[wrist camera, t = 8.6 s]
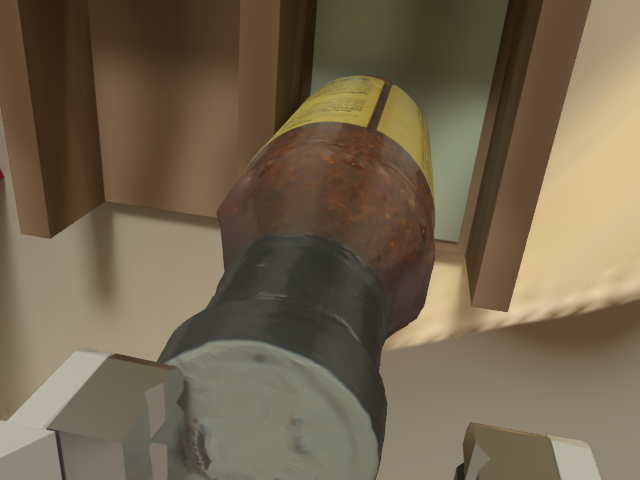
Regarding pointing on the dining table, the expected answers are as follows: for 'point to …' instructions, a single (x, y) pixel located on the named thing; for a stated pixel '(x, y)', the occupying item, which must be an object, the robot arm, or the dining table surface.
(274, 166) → the sauce bottle
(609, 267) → the dining table surface
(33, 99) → the wooden divided tray
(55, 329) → the dining table surface
